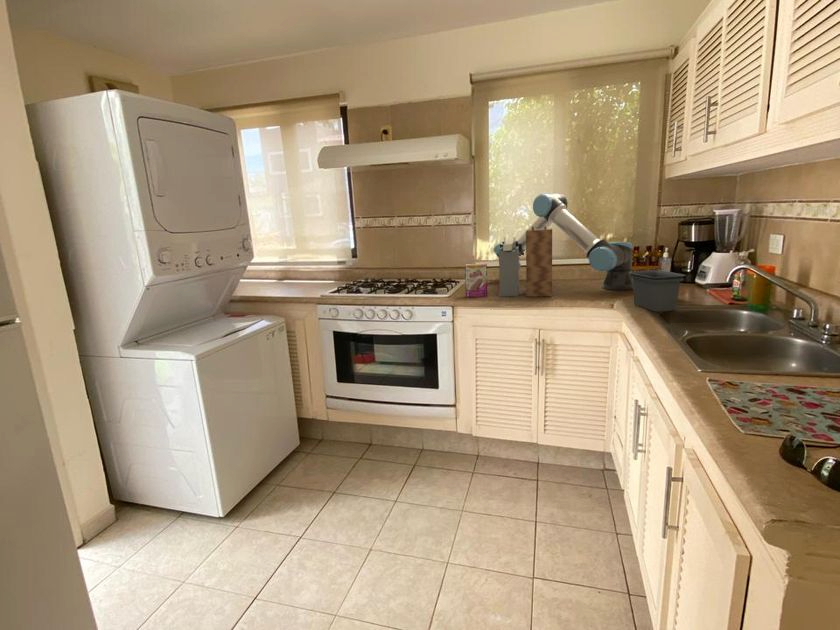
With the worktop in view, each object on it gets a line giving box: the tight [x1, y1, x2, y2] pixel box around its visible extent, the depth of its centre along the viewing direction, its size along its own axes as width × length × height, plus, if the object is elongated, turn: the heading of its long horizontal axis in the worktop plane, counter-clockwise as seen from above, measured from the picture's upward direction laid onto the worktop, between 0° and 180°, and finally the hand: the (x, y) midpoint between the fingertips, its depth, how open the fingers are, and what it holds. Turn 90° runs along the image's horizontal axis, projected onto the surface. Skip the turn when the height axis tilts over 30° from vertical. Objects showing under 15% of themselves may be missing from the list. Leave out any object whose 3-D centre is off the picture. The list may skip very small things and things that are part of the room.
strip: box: [503, 240, 514, 251], centre depth 230 cm, size 4×22×3 cm, turn 165°
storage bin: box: [629, 269, 686, 313], centre depth 184 cm, size 21×16×14 cm
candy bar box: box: [464, 263, 488, 298], centre depth 231 cm, size 11×5×16 cm, turn 84°
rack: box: [498, 246, 520, 297], centre depth 232 cm, size 9×12×24 cm
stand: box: [525, 226, 553, 298], centre depth 224 cm, size 12×12×34 cm
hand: (509, 239), depth 232 cm, fingers closed on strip, 4 cm apart
